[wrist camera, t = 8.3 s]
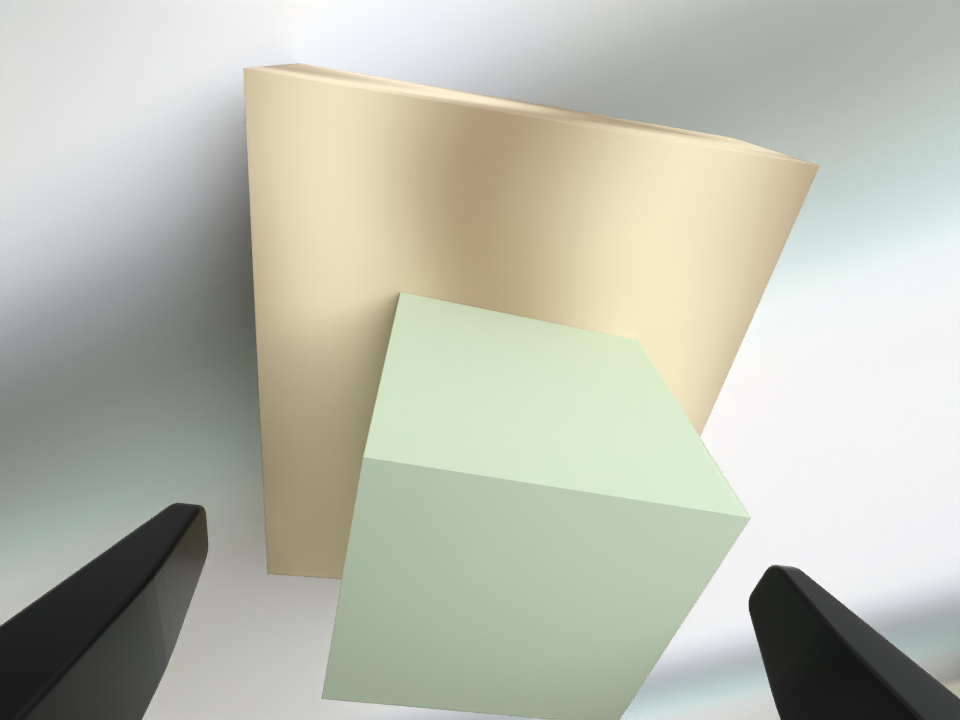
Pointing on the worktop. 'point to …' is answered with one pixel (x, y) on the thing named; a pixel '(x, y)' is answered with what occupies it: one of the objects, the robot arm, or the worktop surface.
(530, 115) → the birch block
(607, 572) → the sage cube
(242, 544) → the worktop surface
